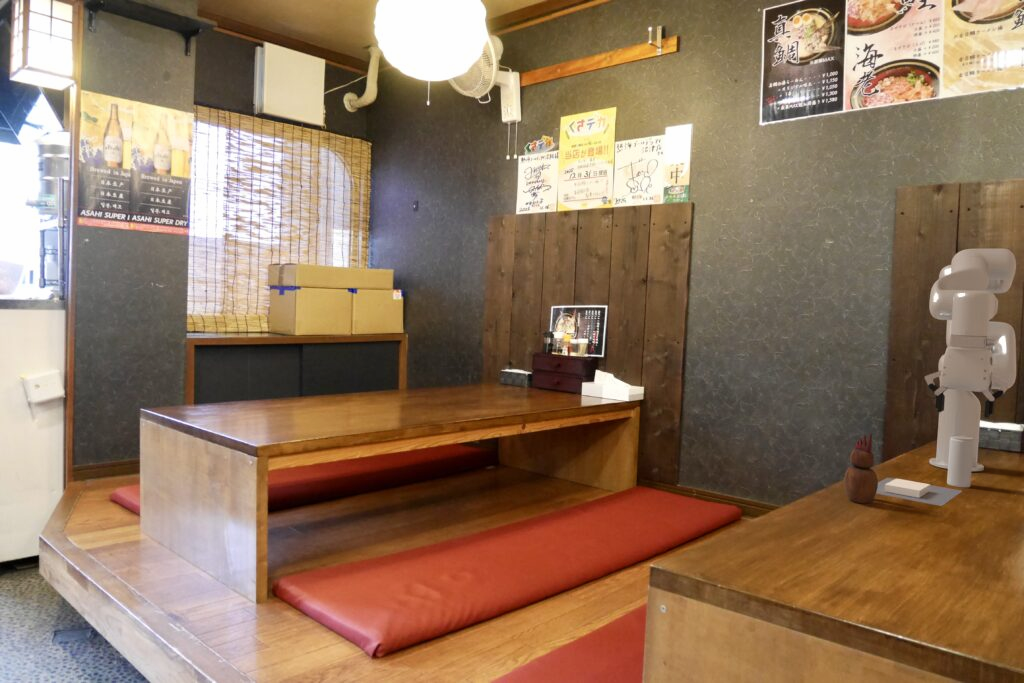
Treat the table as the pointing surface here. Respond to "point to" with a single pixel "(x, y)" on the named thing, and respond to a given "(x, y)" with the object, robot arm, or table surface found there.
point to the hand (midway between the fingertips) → (963, 414)
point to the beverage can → (960, 461)
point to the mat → (932, 497)
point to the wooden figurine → (861, 473)
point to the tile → (907, 488)
